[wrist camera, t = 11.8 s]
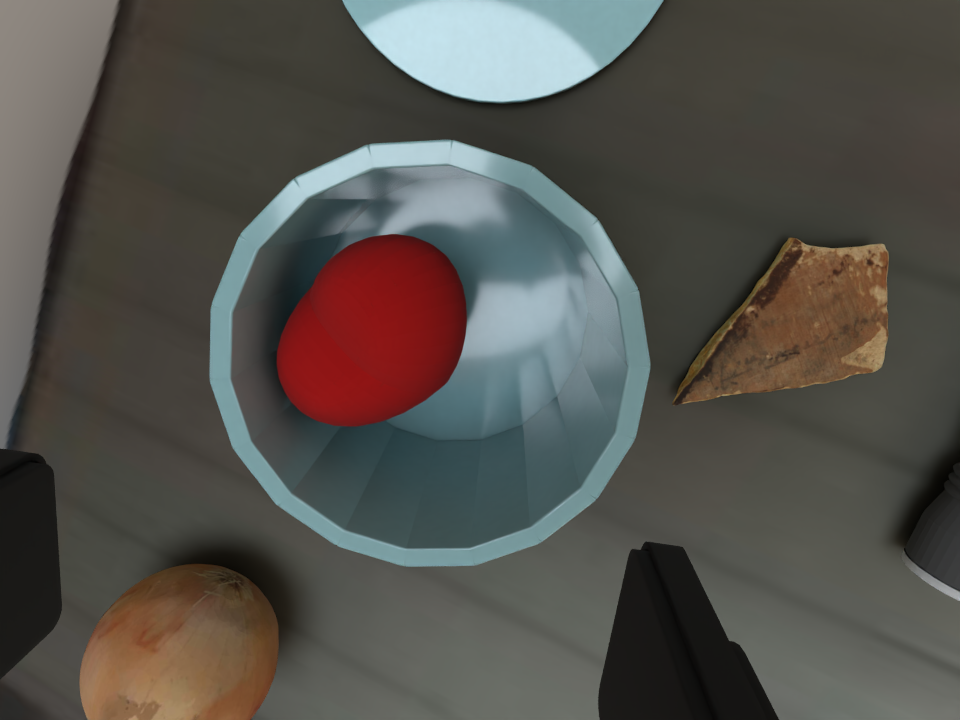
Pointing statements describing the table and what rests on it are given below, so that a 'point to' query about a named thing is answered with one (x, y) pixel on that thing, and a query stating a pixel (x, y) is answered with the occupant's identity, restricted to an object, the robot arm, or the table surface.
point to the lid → (501, 42)
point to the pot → (480, 370)
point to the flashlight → (938, 540)
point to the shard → (799, 325)
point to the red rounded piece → (374, 332)
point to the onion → (182, 649)
